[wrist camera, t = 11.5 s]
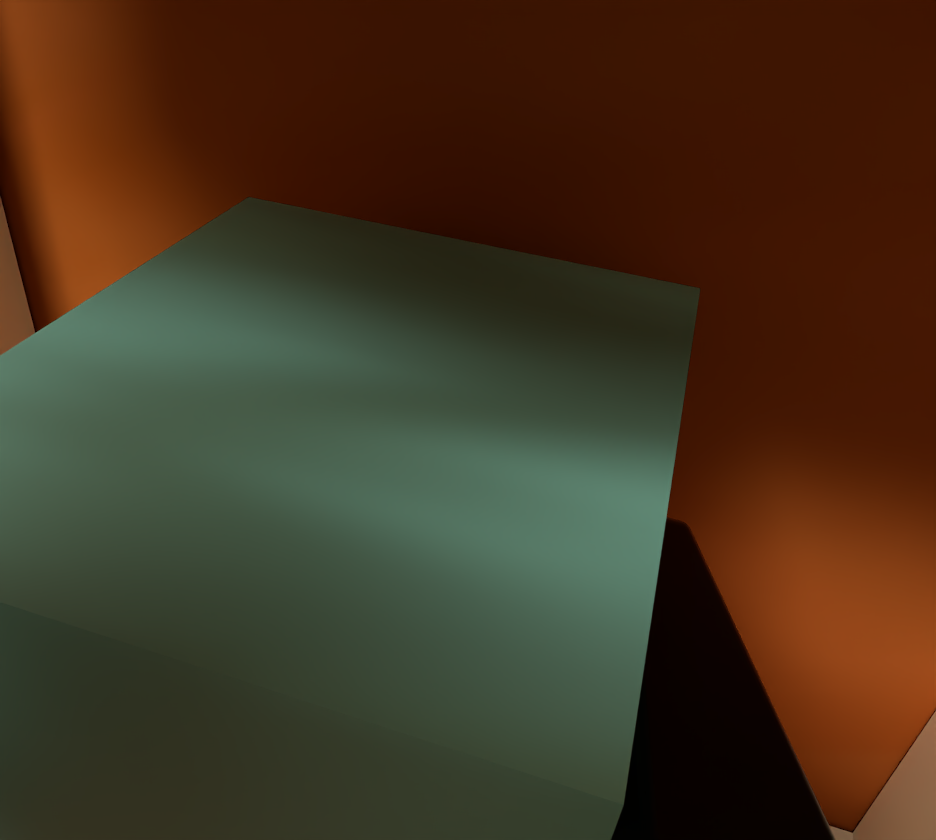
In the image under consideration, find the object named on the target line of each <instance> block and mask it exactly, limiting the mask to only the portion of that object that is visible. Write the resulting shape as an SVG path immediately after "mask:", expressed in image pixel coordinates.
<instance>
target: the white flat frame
mask: <svg viewBox="0 0 936 840" xmlns="http://www.w3.org/2000/svg"><path fill="white" fill-rule="evenodd" d="M33 334H35V330H34V326H33V322H32V318H31V314H30V311H29V307H28V303H27V299H26V295H25V291H24V287H23V283H22V279H21V275H20V271H19V267H18V264H17V260H16V256H15V252H14V248H13V244H12V240H11V236H10V232H9V228H8V224H7V221H6V217H5V213H4V209H3V205H2V201H1V197H0V355H2V354H3V353H5V352H6V351H8V350H9V349H11V348H13V347H14V346H16V345H17V344H19V343H20V342H22V341H24V340H25V339H27V338H28V337H30V336H31V335H33ZM830 828H831V831H832V833H833V835H834V837H835V839H836V840H936V711H935V713H934V714H933V716H932V717H931V719H930V720H929V722H928V723H927V724H926V726H925V727H924V729H923V730H922V732H921V733H920V735H919V736H918V738H917V739H916V741H915V742H914V744H913V745H912V747H911V748H910V749H909V751H908V752H907V754H906V755H905V757H904V758H903V760H902V761H901V763H900V764H899V766H898V767H897V769H896V770H895V772H894V773H893V774H892V776H891V777H890V779H889V780H888V782H887V783H886V785H885V786H884V788H883V789H882V791H881V792H880V794H879V795H878V797H877V798H876V799H875V801H874V802H873V804H872V805H871V807H870V808H869V810H868V811H867V813H866V814H865V816H864V817H863V819H862V820H861V822H860V823H859V824H858V826H857V827H856V829H855V830H854V832H853V833H851V832H848V831H845V830H842V829H838V828H835V827H832V826H830Z"/></svg>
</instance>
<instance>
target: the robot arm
mask: <svg viewBox="0 0 936 840" xmlns="http://www.w3.org/2000/svg"><path fill="white" fill-rule="evenodd" d="M611 840H836V839H835V837H834V835H833V833H832V831H831V828H830V826H829V824H828V822H827V820H826V818H825V816H824V814H823V811H822V809H821V807H820V805H819V803H818V801H817V799H816V796H815V794H814V792H813V790H812V788H811V786H810V784H809V782H808V779H807V777H806V775H805V773H804V771H803V769H802V767H801V764H800V762H799V760H798V758H797V756H796V754H795V752H794V749H793V747H792V745H791V743H790V741H789V739H788V737H787V735H786V732H785V730H784V728H783V726H782V724H781V722H780V720H779V717H778V715H777V713H776V711H775V709H774V707H773V705H772V702H771V700H770V698H769V696H768V694H767V692H766V690H765V688H764V685H763V683H762V681H761V679H760V677H759V675H758V673H757V670H756V668H755V666H754V664H753V662H752V660H751V658H750V656H749V653H748V651H747V649H746V647H745V645H744V643H743V641H742V638H741V636H740V634H739V632H738V630H737V628H736V626H735V623H734V621H733V619H732V617H731V615H730V613H729V611H728V609H727V606H726V604H725V602H724V600H723V598H722V596H721V594H720V591H719V589H718V587H717V585H716V583H715V581H714V579H713V576H712V574H711V572H710V570H709V568H708V566H707V564H706V562H705V559H704V557H703V555H702V553H701V551H700V549H699V547H698V544H697V542H696V540H695V538H694V536H693V534H692V532H691V530H690V528H689V526H688V525H687V524H686V523H684V522H682V521H679V520H675V519H671V518H667V517H666V523H665V530H664V537H663V544H662V550H661V557H660V564H659V570H658V577H657V584H656V591H655V597H654V604H653V611H652V618H651V624H650V631H649V638H648V644H647V651H646V658H645V665H644V671H643V678H642V685H641V692H640V698H639V705H638V712H637V718H636V725H635V732H634V739H633V745H632V752H631V759H630V766H629V772H628V779H627V786H626V792H625V799H624V805H623V808H622V811H621V813H620V816H619V819H618V822H617V824H616V827H615V830H614V833H613V836H612V838H611Z"/></svg>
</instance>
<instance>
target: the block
mask: <svg viewBox="0 0 936 840" xmlns="http://www.w3.org/2000/svg"><path fill="white" fill-rule="evenodd" d="M699 295H700V288H697V287H692V286H687V285H682V284H677V283H672V282H667V281H662V280H657V279H652V278H647V277H642V276H637V275H632V274H628V273H623V272H618V271H613V270H608V269H603V268H598V267H593V266H588V265H583V264H578V263H573V262H568V261H563V260H558V259H553V258H548V257H543V256H539V255H534V254H529V253H524V252H519V251H514V250H509V249H504V248H499V247H494V246H489V245H484V244H479V243H474V242H469V241H464V240H459V239H454V238H449V237H445V236H440V235H435V234H430V233H425V232H420V231H415V230H410V229H405V228H400V227H395V226H390V225H385V224H380V223H375V222H370V221H365V220H360V219H355V218H351V217H346V216H341V215H336V214H331V213H326V212H321V211H316V210H311V209H306V208H301V207H296V206H291V205H286V204H281V203H276V202H271V201H266V200H261V199H257V198H252V197H248V198H246V199H245V200H243V201H241V202H240V203H238V204H237V205H235V206H234V207H232V208H231V209H229V210H227V211H226V212H224V213H223V214H221V215H220V216H218V217H216V218H215V219H213V220H212V221H210V222H209V223H207V224H205V225H204V226H202V227H201V228H199V229H198V230H196V231H194V232H193V233H191V234H190V235H188V236H187V237H185V238H183V239H182V240H180V241H179V242H177V243H176V244H174V245H172V246H171V247H169V248H168V249H166V250H165V251H163V252H162V253H160V254H158V255H157V256H155V257H154V258H152V259H151V260H149V261H147V262H146V263H144V264H143V265H141V266H140V267H138V268H136V269H135V270H133V271H132V272H130V273H129V274H127V275H125V276H124V277H122V278H121V279H119V280H118V281H116V282H114V283H113V284H111V285H110V286H108V287H107V288H105V289H103V290H102V291H100V292H99V293H97V294H96V295H94V296H93V297H91V298H89V299H88V300H86V301H85V302H83V303H82V304H80V305H78V306H77V307H75V308H74V309H72V310H71V311H69V312H67V313H66V314H64V315H63V316H61V317H60V318H58V319H56V320H55V321H53V322H52V323H50V324H49V325H47V326H45V327H44V328H42V329H41V330H39V331H38V332H36V333H35V334H33V335H31V336H30V337H28V338H27V339H25V340H24V341H22V342H20V343H19V344H17V345H16V346H14V347H13V348H11V349H9V350H8V351H6V352H5V353H3V354H2V355H0V840H611V838H612V836H613V833H614V830H615V827H616V824H617V822H618V819H619V816H620V813H621V811H622V808H623V805H624V799H625V792H626V786H627V779H628V772H629V766H630V759H631V752H632V745H633V739H634V732H635V725H636V718H637V712H638V705H639V698H640V692H641V685H642V678H643V671H644V665H645V658H646V651H647V644H648V638H649V631H650V624H651V618H652V611H653V604H654V597H655V591H656V584H657V577H658V570H659V564H660V557H661V550H662V544H663V537H664V530H665V523H666V517H667V510H668V503H669V496H670V490H671V483H672V476H673V470H674V463H675V456H676V449H677V443H678V436H679V429H680V423H681V416H682V409H683V402H684V396H685V389H686V382H687V375H688V369H689V362H690V355H691V349H692V342H693V335H694V328H695V322H696V315H697V308H698V301H699Z"/></svg>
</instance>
